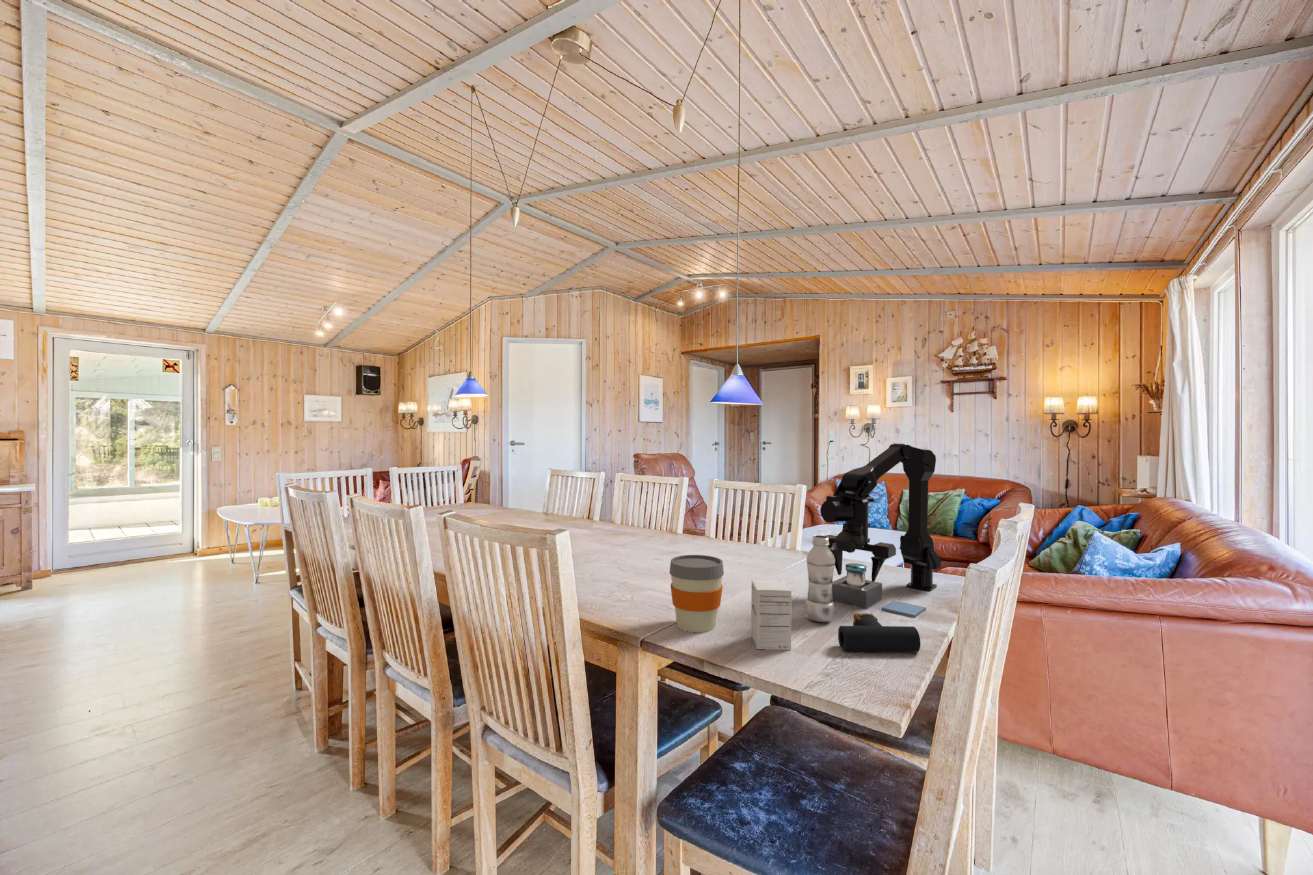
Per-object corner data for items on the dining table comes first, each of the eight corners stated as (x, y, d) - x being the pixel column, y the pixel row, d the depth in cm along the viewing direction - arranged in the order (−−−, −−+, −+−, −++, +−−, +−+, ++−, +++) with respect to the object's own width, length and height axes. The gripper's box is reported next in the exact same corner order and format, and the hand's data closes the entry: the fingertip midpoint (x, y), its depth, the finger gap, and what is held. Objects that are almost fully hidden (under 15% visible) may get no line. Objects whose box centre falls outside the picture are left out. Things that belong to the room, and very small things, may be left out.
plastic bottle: (810, 613, 133) (811, 532, 133) (838, 619, 129) (839, 536, 129) (801, 621, 128) (801, 537, 128) (829, 627, 124) (830, 540, 124)
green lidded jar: (850, 595, 148) (850, 562, 148) (869, 599, 144) (869, 565, 144) (841, 600, 144) (842, 565, 144) (861, 604, 140) (861, 569, 140)
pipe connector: (829, 610, 121) (896, 610, 121) (828, 633, 121) (896, 634, 121) (846, 630, 110) (920, 631, 109) (845, 656, 110) (920, 657, 109)
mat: (893, 602, 142) (893, 600, 142) (925, 609, 136) (925, 607, 136) (881, 609, 136) (881, 607, 136) (914, 617, 131) (914, 615, 131)
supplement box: (750, 636, 119) (750, 579, 118) (784, 636, 118) (784, 579, 118) (755, 650, 111) (756, 589, 111) (791, 650, 111) (792, 589, 111)
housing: (845, 591, 151) (846, 575, 151) (881, 599, 144) (882, 583, 144) (829, 599, 144) (829, 583, 144) (866, 608, 137) (866, 591, 137)
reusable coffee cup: (701, 640, 116) (701, 571, 116) (658, 625, 125) (658, 561, 125) (734, 624, 126) (734, 560, 125) (692, 612, 134) (692, 552, 134)
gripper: (809, 519, 144) (809, 577, 145) (879, 528, 131) (879, 592, 132) (829, 514, 152) (828, 569, 153) (897, 522, 139) (896, 582, 140)
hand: (856, 578), depth 144 cm, fingers open, 9 cm apart
